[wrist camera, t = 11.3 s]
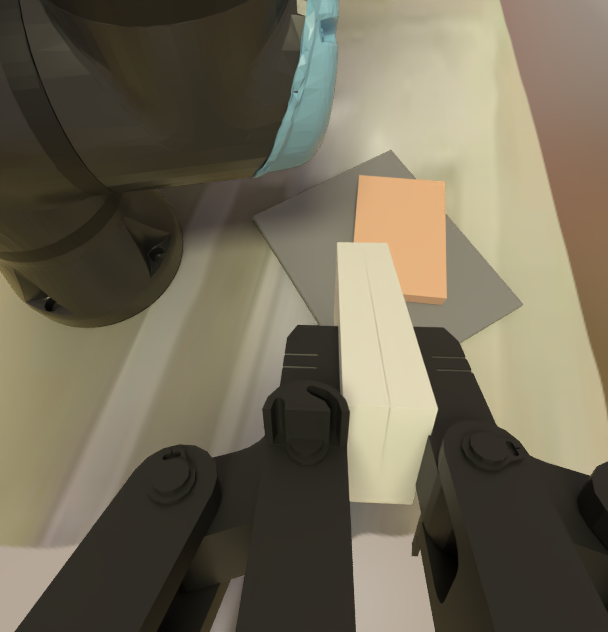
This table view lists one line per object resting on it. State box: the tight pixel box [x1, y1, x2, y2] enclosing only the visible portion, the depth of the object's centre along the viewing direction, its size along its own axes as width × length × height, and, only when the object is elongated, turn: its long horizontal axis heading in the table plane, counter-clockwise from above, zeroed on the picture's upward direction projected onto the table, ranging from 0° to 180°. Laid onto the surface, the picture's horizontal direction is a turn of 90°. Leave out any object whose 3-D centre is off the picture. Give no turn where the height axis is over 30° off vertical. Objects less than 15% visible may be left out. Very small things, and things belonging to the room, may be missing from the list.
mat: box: [253, 150, 523, 343], centre depth 36 cm, size 20×16×1 cm
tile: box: [353, 175, 447, 305], centre depth 35 cm, size 2×8×12 cm
